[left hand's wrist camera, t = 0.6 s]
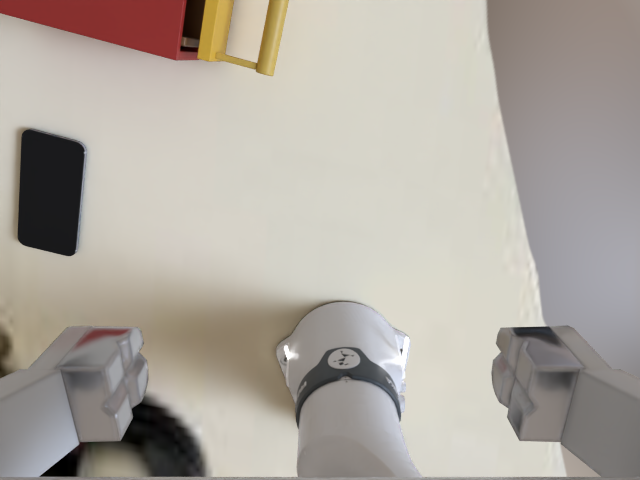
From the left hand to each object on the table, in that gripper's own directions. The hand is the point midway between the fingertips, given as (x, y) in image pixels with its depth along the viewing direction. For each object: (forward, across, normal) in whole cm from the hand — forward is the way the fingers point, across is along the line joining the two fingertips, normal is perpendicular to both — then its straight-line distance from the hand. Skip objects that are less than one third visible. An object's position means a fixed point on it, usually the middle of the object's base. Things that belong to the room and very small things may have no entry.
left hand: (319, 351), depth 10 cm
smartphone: (+45, -33, -9) cm, 57 cm away
